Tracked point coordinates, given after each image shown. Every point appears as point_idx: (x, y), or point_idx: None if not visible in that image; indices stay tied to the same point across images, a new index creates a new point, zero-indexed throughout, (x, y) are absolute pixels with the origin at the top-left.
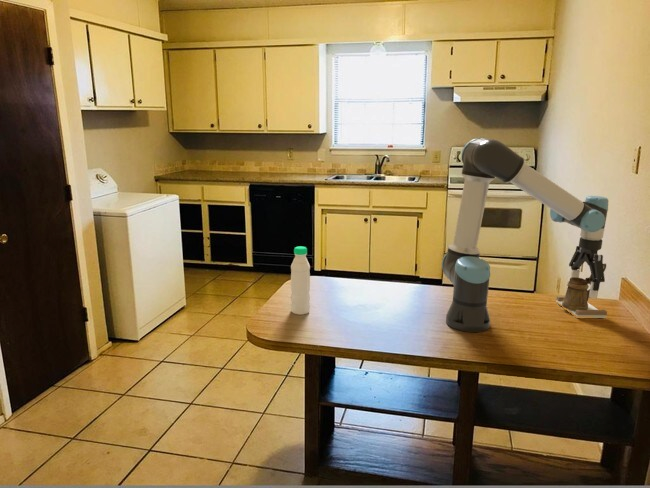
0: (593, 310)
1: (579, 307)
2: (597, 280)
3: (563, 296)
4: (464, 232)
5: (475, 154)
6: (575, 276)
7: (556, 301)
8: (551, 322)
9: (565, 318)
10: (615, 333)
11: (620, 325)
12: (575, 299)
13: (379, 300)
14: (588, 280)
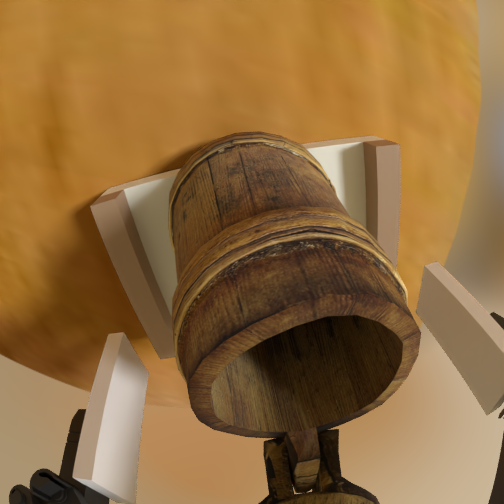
0: (146, 303)
1: (170, 234)
2: (12, 497)
3: (393, 189)
4: None
5: None
6: (468, 349)
7: (375, 137)
8: (28, 41)
9: (97, 120)
10: (18, 309)
11: None
12: (175, 228)
13: None
14: (285, 449)
